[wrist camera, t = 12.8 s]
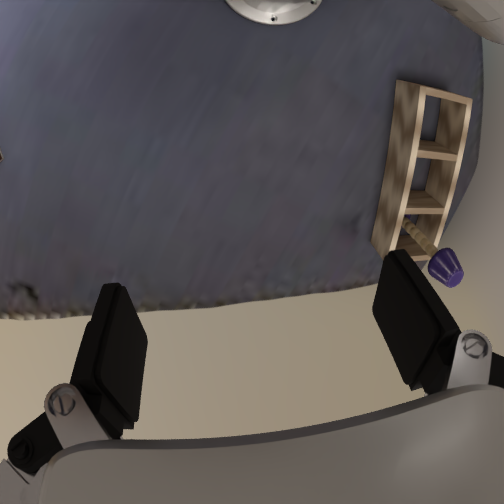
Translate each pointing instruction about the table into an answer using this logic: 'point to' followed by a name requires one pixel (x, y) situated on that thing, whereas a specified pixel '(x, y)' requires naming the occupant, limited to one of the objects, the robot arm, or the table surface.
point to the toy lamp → (436, 257)
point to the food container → (1, 155)
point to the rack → (403, 163)
